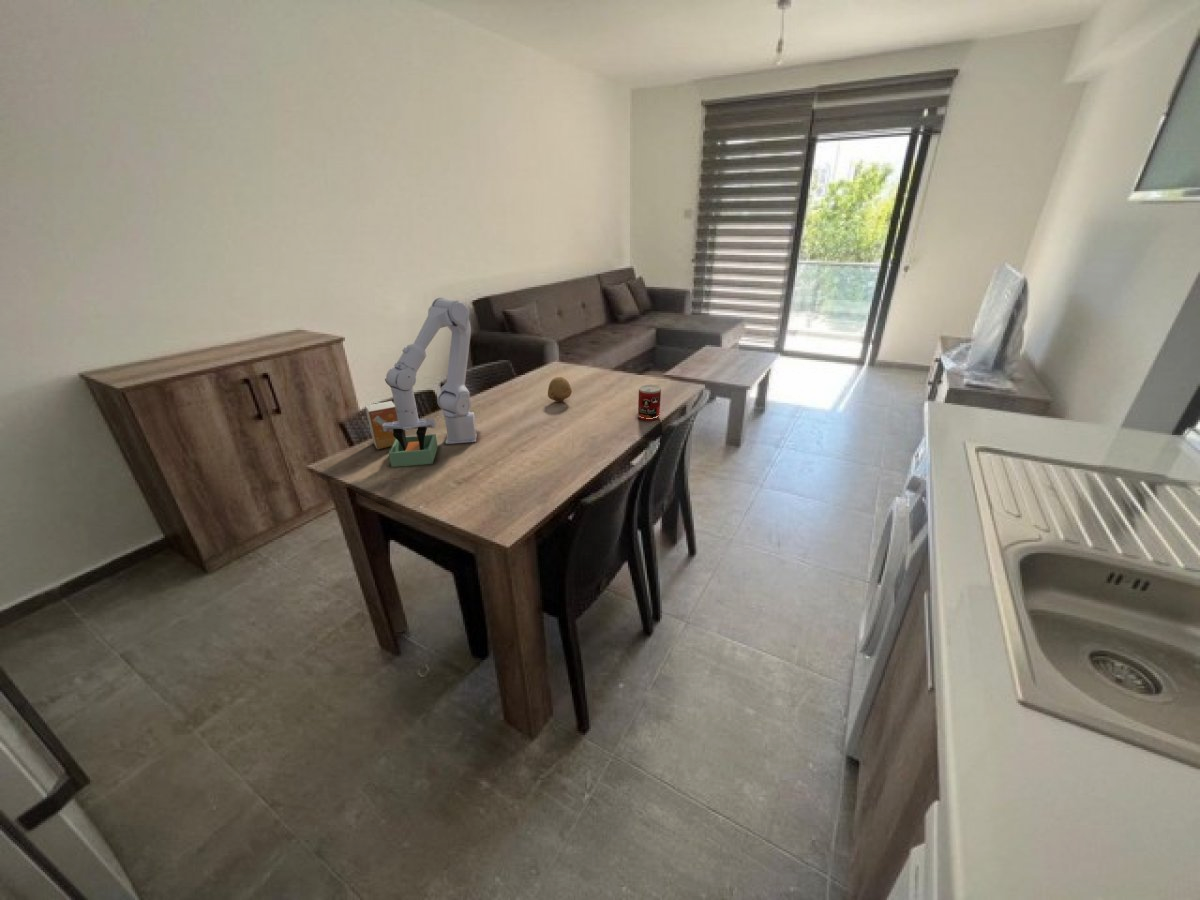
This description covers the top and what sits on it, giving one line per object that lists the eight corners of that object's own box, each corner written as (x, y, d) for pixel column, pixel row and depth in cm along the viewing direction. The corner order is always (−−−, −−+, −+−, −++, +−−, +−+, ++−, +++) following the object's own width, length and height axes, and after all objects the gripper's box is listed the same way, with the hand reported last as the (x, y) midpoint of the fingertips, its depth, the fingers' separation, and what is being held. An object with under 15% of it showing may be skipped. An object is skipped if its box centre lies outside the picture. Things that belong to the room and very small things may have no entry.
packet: (424, 449, 149) (422, 440, 148) (420, 459, 143) (418, 450, 141) (410, 450, 148) (408, 441, 147) (406, 460, 142) (404, 451, 141)
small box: (377, 450, 150) (368, 411, 144) (373, 443, 154) (364, 405, 149) (404, 444, 154) (396, 406, 148) (399, 437, 158) (391, 400, 153)
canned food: (635, 419, 171) (636, 390, 166) (641, 411, 178) (642, 383, 173) (655, 422, 168) (657, 393, 164) (661, 414, 175) (663, 386, 170)
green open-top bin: (437, 446, 152) (435, 434, 150) (432, 463, 142) (430, 450, 140) (399, 449, 150) (396, 436, 148) (391, 467, 140) (388, 453, 138)
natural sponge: (576, 400, 188) (576, 376, 184) (563, 407, 182) (562, 382, 177) (558, 396, 193) (557, 372, 188) (544, 403, 186) (543, 378, 182)
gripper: (376, 415, 134) (386, 458, 140) (429, 412, 136) (437, 454, 142) (382, 406, 140) (391, 447, 147) (433, 403, 143) (440, 444, 149)
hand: (414, 450), depth 145 cm, fingers closed on packet, 4 cm apart
